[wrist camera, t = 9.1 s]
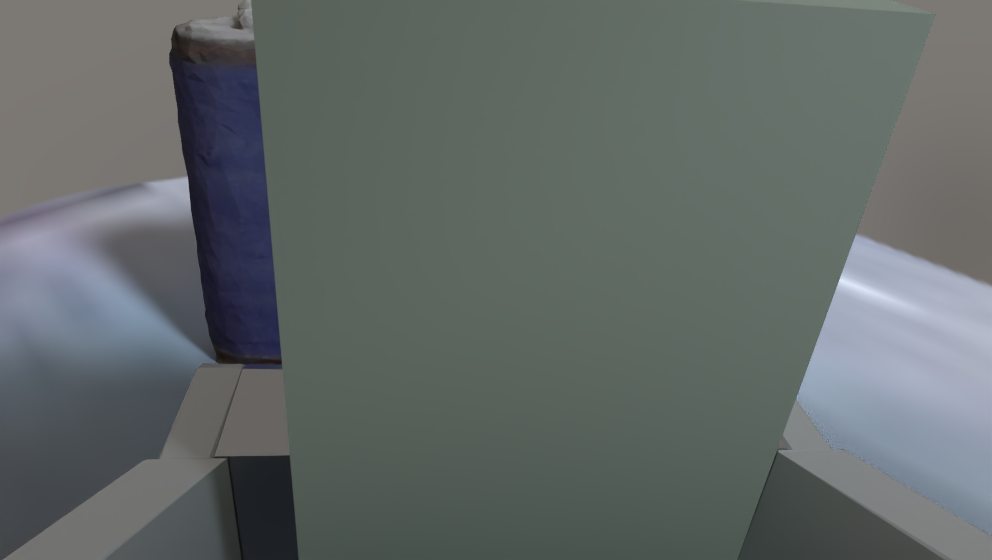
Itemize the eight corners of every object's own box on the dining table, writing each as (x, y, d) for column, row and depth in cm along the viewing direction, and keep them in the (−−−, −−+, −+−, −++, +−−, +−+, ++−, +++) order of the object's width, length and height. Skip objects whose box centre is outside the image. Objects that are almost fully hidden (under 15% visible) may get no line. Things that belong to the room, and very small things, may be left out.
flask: (501, 294, 25) (533, -52, 19) (534, 343, 22) (581, -35, 17) (209, 330, 22) (150, -69, 16) (211, 391, 19) (143, -52, 14)
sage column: (564, 635, 14) (704, -57, 8) (615, 894, 10) (935, 14, 4) (349, 645, 13) (324, -87, 7) (329, 920, 10) (249, -32, 4)
